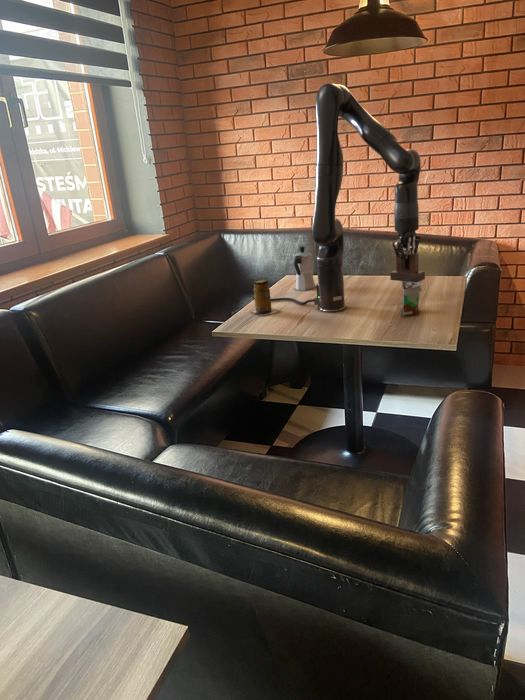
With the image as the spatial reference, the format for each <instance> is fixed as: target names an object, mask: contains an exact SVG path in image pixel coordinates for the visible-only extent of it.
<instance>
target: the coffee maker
mask: <svg viewBox="0 0 525 700" xmlns="http://www.w3.org/2000/svg"><path fill="white" fill-rule="evenodd" d="M292 257H293V266H294V269H295V272H296V274H295V287H294V289H295V290H296V291H310V290H314V289H315V288H316V283H315V279H314V276H313V272H312V270H313V253H311V252H306V251H305V246H304V245H303V246H299V252H298V253H295V254H293V255H292Z"/></svg>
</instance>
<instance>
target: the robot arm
mask: <svg viewBox="0 0 525 700" xmlns="http://www.w3.org/2000/svg"><path fill="white" fill-rule="evenodd" d="M315 117H316V118H315V119H316V154H315V155H316V156H315V158H316V159H315V182H314V183H315V187H314V188H315V189H314V194H315V195H314V212H313V220H312V227H311V236H312V240H313V241H314V242H315V244H317V246H319V248H318V249H319V250H318V253H317V255H316V269H317V270H316V271H317V283H316V284H315V288H316V297H314V298H311V299H308V300H305V301H299V300H297V299H295V298H292V297H277V298H276V297H275V298H270V299H271V302H278V301H291V302H294V303H296V304H298V305H300V306H301V305H303V306H304V305H306V304H308V303H313V304H314V306H315V305H316V306H317V309H318V310H320V311H321V312H324V313H335V312H340V311H343V310H345V309H346V302H345V301H346V299H345V283H344V265H343V263H344V261H343V257H344V252H345V243H344V242H345V241H344V240H345V239H344V237H345V236H344V227H343V224H342V222H341V220H340V219H339V218H338V217H336V207H337V201H338V198H339V194H340V191H341V187H342V183H343V176H344V153H343V149H342V145H341V142H340V138H339V129H338V128H339V118H341V119H343V120H345V121H346V122H347V123H349V124H350V125H351V126H352V127H353V128H354V129H355V130H356V132H357V134H358V135H359V137H360V138H361V139H362V141H364V143H366V145H367V146H369V147H370V148H371V149H372V150H373V151H374V152H375V153H377V154H378V155H379V156H380V157H381V159H382V160H383V161H384V163H385V164H386V165H387V167H388V168H389V169H390V170H392V171H393V172H394V173H396V174H397V175H398V180H397V181H398V182H397V183H396V184H395V186H394V210H393V211H394V212H393V213H394V214H393V215H394V216H393V217H394V232H396V233H397V239H396V241H393V242H392V247H393V251H394V253H395V255H396V256H397V258H401V269H402V270H407V269H408V253H416V254H418V250H419V246H420V242H421V238H422V237H421V235H417V233H416V231H418V230H419V228H420V224H419V222H420V218H419V217H420V215H419V213H420V212H419V211H420V210H419V198H418V197H419V194H418V193H419V191H418V185H419V179H420V174H421V167H422V166H421V165H422V164H421V157H420V154H419V152H418V151H417V150H416V149H413V148H407V149H405V148H403V146H401V145H400V143H398V138H397V137H396V136H395V135H394V134H393V133H392V132H391V131H390V130H389V129H388V128H386V127H385V126H384V125H383V124H382V123H380V122H379V121H378V120H377V119H376V118H375V117H373V116H372V115H371V114H370V113H369V112H368V110H366V109H365V108H364V107H363V106H362V105H361V104H360V103H359V101H358V100H357V99H356V97H355V96H354V95H353V94H352V92H351V91H350V90H349V88H347V87H346V86H345V85H342V84H340V83H325V84H323V85H321V86H320V88H319V89H318V91H317V93H316V96H315ZM399 253H400V254H399ZM396 256H395V257H396ZM252 300H255V298H254V296H253V297H252Z"/></svg>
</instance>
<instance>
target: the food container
mask: <svg viewBox="0 0 525 700" xmlns="http://www.w3.org/2000/svg"><path fill="white" fill-rule="evenodd" d="M401 282H402V283H401V290H402V291H401V293H402V294H401V295H402V298H401V299H402V314H403V317H404V318H405V317H407V318H408V317H413V316H416V315H418V314H419V304H420V302H419V301H420V293H421V292H422V286H421V284H420V282H417V283H416V282H406V281H401Z"/></svg>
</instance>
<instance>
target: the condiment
mask: <svg viewBox="0 0 525 700" xmlns="http://www.w3.org/2000/svg"><path fill="white" fill-rule="evenodd" d="M253 297H254V298H255V299H254V306H255V310H251V311H250V312H251V313H254V314H256V315H258V316H267V315H273V314H277V313H278V312H279V311H278V310H275V309H272V301H271V299H272V298H271V290H270V287H269V281H268V280H267V279H257V280H254V282H253Z"/></svg>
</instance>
